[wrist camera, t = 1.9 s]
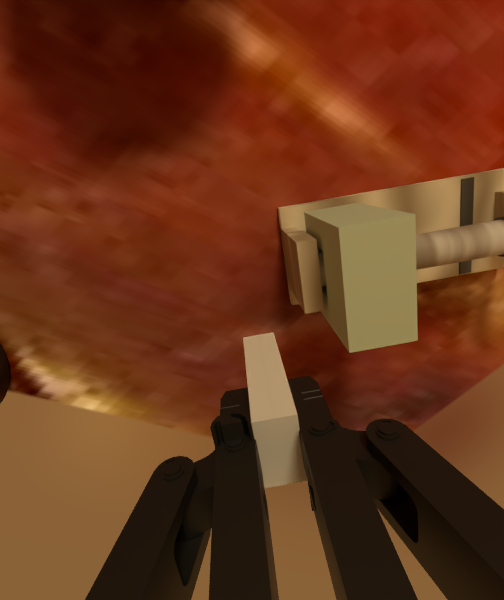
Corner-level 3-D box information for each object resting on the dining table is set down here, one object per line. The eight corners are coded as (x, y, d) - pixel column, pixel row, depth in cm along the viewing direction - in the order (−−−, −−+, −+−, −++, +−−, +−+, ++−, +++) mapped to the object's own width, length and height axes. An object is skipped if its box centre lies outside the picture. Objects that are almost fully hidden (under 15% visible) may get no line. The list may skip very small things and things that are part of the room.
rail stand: (290, 301, 40) (307, 335, 31) (277, 207, 36) (293, 217, 28) (498, 264, 40) (571, 288, 31) (503, 168, 37) (587, 165, 28)
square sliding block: (314, 303, 37) (349, 352, 26) (303, 212, 34) (338, 227, 23) (363, 294, 37) (417, 340, 26) (357, 202, 34) (415, 214, 23)
